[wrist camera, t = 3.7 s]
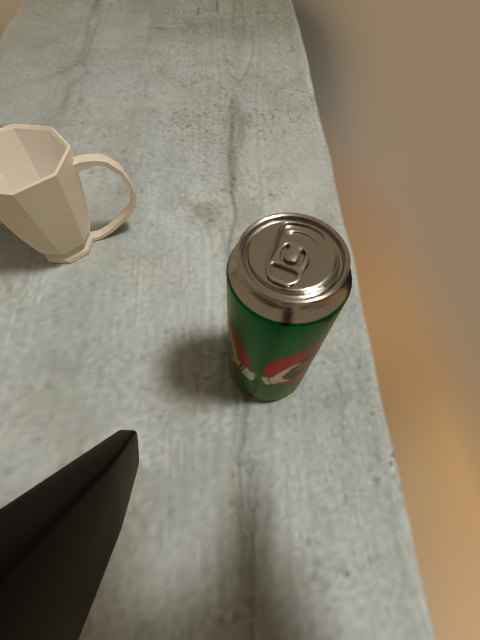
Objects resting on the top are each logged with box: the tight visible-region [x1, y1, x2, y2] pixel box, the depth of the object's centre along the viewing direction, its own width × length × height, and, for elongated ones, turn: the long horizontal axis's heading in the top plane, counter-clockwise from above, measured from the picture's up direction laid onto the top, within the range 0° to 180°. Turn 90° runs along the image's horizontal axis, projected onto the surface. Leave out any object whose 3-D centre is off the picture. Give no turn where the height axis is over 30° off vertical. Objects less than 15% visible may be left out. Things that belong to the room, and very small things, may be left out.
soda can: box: [226, 213, 352, 401], centre depth 18 cm, size 5×5×12 cm
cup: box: [0, 124, 136, 264], centre depth 25 cm, size 7×10×8 cm
